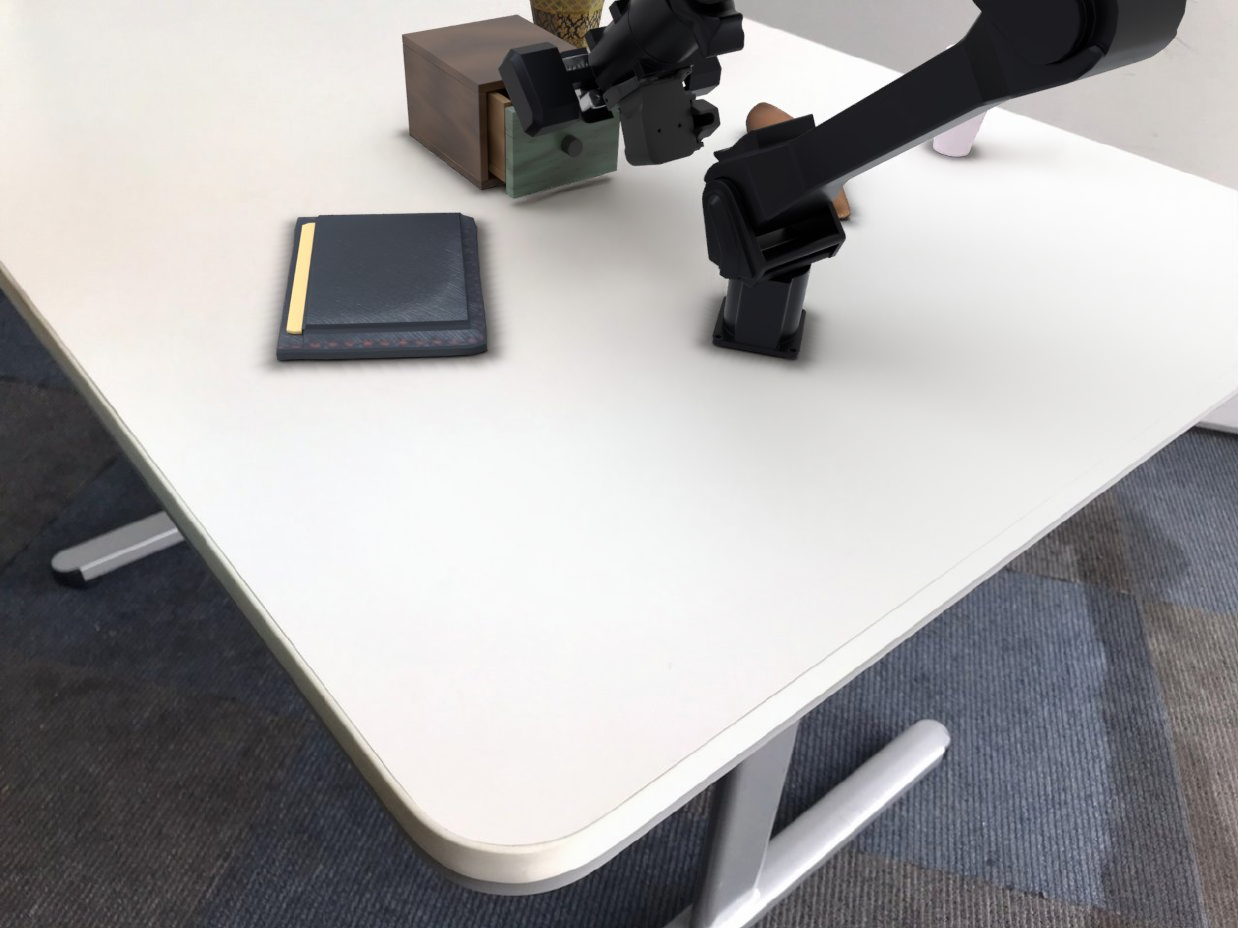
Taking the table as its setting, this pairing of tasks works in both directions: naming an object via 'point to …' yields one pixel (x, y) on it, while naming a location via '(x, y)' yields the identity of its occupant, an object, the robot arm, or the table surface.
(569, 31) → the ceramic cup
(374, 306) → the wallet
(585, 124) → the drawer
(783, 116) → the brown rounded log
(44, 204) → the table surface
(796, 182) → the robot arm
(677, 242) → the table surface
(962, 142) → the smoothie
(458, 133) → the cabinet
